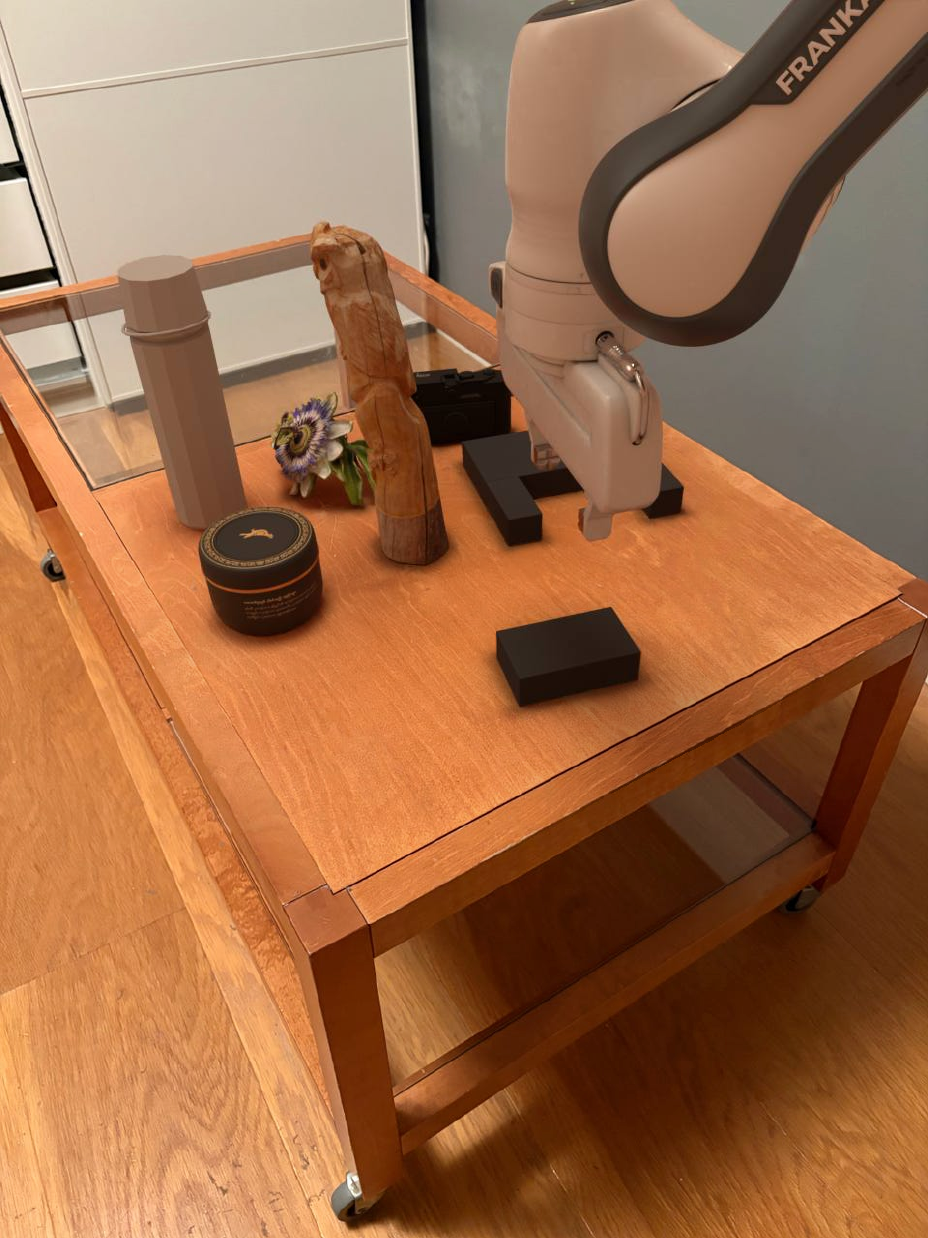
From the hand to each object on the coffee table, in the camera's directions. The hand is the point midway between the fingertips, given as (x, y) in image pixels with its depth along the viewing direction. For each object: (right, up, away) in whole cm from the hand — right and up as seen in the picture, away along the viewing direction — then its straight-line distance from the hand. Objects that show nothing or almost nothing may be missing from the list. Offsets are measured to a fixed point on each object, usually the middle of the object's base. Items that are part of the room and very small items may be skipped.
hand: (568, 498), depth 67 cm
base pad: (+3, +5, +32) cm, 32 cm away
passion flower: (-21, +6, +34) cm, 41 cm away
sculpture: (-14, -2, +24) cm, 28 cm away
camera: (-9, +13, +42) cm, 45 cm away
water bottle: (-33, +2, +31) cm, 46 cm away
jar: (-25, -8, +18) cm, 31 cm away
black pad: (+1, -13, +10) cm, 16 cm away
